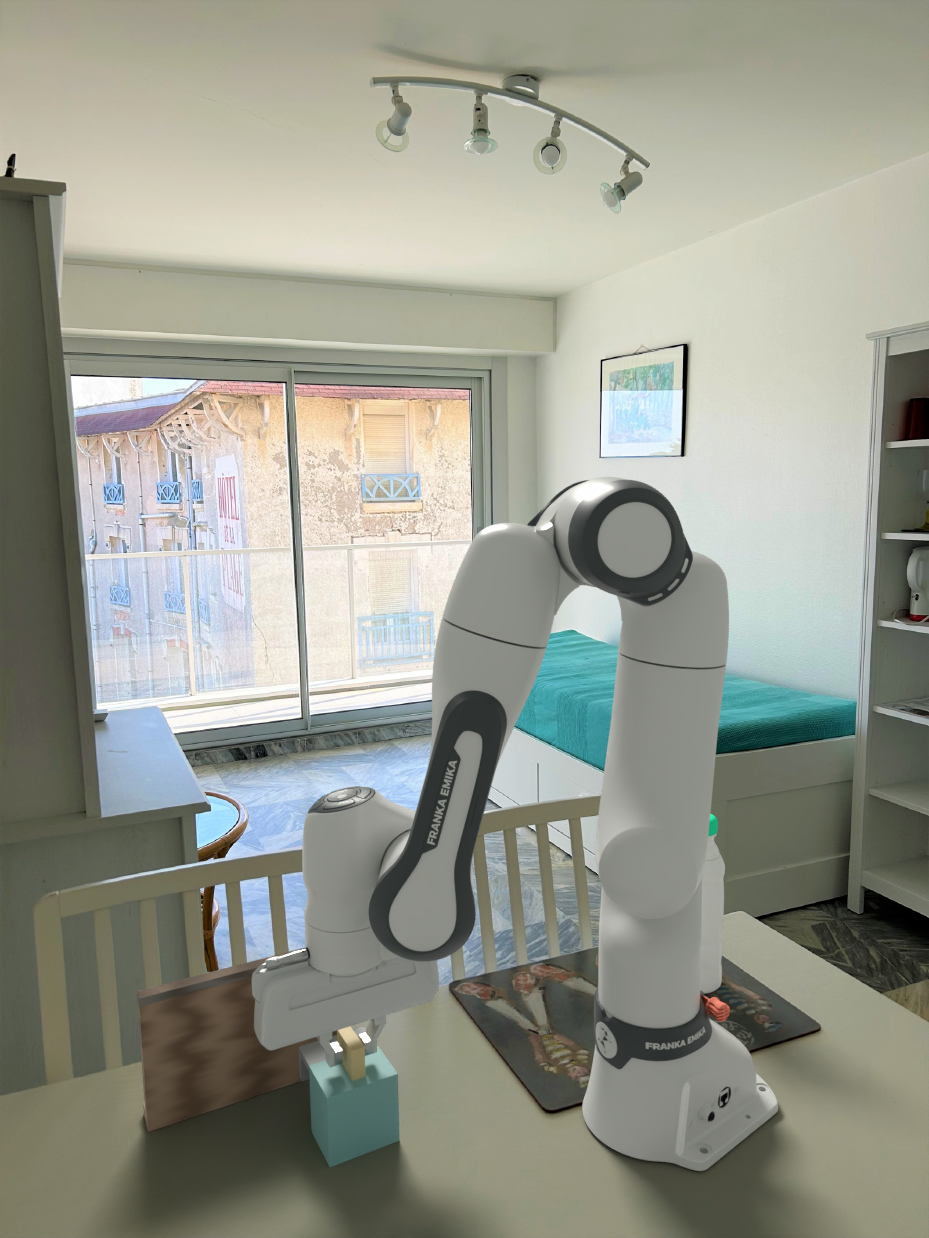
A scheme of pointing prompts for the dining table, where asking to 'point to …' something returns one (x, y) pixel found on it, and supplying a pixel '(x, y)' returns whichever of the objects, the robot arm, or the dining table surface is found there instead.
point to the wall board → (206, 1046)
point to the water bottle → (712, 914)
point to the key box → (350, 1098)
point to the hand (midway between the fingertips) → (351, 1057)
